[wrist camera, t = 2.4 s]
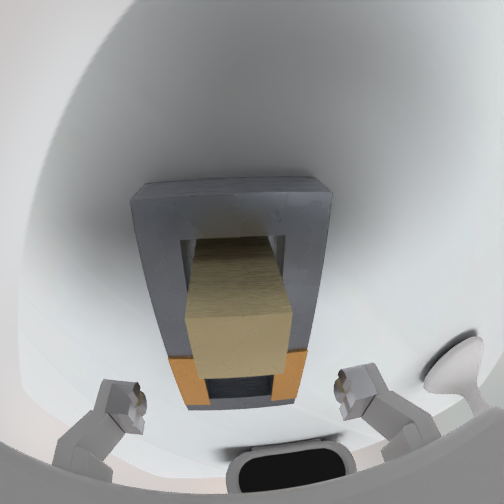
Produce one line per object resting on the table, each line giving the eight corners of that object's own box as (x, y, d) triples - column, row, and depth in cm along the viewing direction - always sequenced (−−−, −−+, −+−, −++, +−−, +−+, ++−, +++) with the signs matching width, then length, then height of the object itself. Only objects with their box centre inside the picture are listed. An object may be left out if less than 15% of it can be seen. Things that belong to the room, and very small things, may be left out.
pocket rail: (145, 183, 15) (128, 201, 12) (314, 177, 16) (333, 193, 13) (189, 385, 25) (188, 411, 22) (288, 379, 26) (294, 405, 23)
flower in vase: (480, 316, 26) (562, 448, 5) (473, 352, 32) (533, 459, 10) (406, 370, 29) (472, 524, 7) (412, 395, 34) (461, 514, 13)
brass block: (197, 234, 16) (184, 318, 10) (266, 231, 16) (292, 312, 10) (203, 289, 18) (198, 378, 12) (264, 286, 18) (284, 373, 12)
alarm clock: (346, 429, 37) (366, 495, 25) (332, 447, 42) (347, 503, 30) (223, 446, 35) (228, 519, 23) (226, 461, 40) (231, 521, 28)
